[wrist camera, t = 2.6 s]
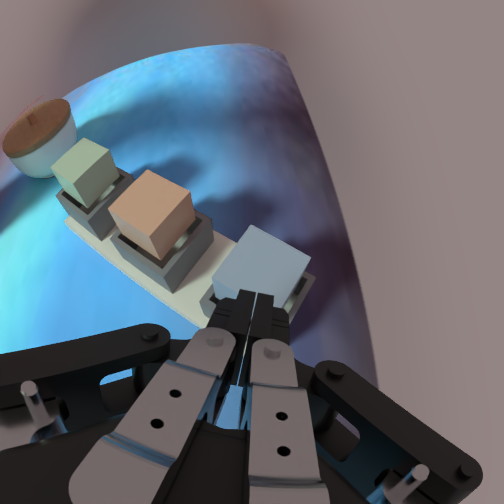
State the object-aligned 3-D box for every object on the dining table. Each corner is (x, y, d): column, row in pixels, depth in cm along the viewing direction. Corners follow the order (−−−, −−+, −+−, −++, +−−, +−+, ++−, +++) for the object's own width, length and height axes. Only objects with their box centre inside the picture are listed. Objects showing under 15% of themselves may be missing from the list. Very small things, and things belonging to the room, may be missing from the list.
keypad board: (69, 228, 29) (49, 202, 24) (115, 180, 32) (102, 150, 28) (262, 367, 23) (268, 359, 19) (307, 291, 27) (321, 268, 22)
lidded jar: (71, 129, 37) (52, 83, 29) (98, 154, 34) (76, 99, 26) (19, 170, 33) (-8, 127, 25) (37, 204, 30) (2, 156, 22)
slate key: (215, 296, 20) (211, 277, 17) (249, 250, 22) (251, 224, 19) (270, 330, 19) (276, 316, 16) (300, 279, 21) (311, 257, 18)
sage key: (64, 190, 24) (50, 167, 21) (94, 161, 26) (83, 137, 23) (87, 208, 24) (72, 183, 20) (119, 176, 25) (109, 149, 22)
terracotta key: (122, 233, 22) (107, 208, 19) (156, 197, 24) (147, 169, 21) (160, 260, 22) (149, 236, 18) (195, 219, 23) (190, 191, 20)
